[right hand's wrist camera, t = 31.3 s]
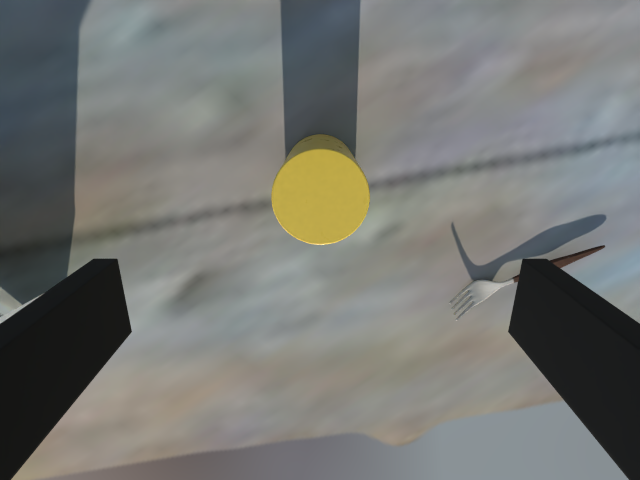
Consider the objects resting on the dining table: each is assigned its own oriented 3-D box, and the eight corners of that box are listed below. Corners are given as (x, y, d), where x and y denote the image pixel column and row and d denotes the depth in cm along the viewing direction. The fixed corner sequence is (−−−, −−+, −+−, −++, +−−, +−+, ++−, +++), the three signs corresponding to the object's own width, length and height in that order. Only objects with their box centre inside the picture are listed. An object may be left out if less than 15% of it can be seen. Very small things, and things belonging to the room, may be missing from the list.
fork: (603, 255, 38) (618, 263, 36) (450, 312, 40) (456, 322, 38) (598, 232, 37) (613, 239, 35) (442, 292, 40) (448, 301, 38)
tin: (309, 216, 37) (305, 261, 26) (272, 158, 35) (251, 182, 25) (367, 181, 36) (387, 214, 25) (332, 120, 34) (338, 128, 23)
